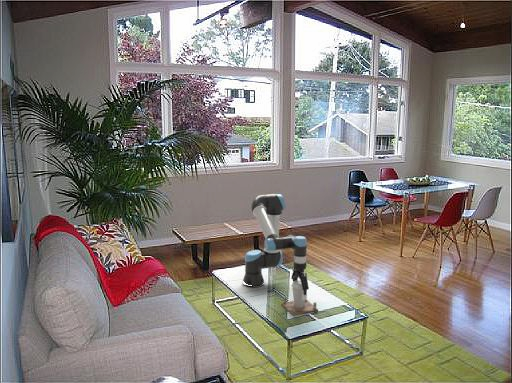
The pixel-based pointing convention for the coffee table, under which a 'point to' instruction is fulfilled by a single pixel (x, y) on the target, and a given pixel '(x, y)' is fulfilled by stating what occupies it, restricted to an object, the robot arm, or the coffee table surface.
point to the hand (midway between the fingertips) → (299, 295)
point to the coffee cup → (298, 294)
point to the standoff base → (297, 311)
